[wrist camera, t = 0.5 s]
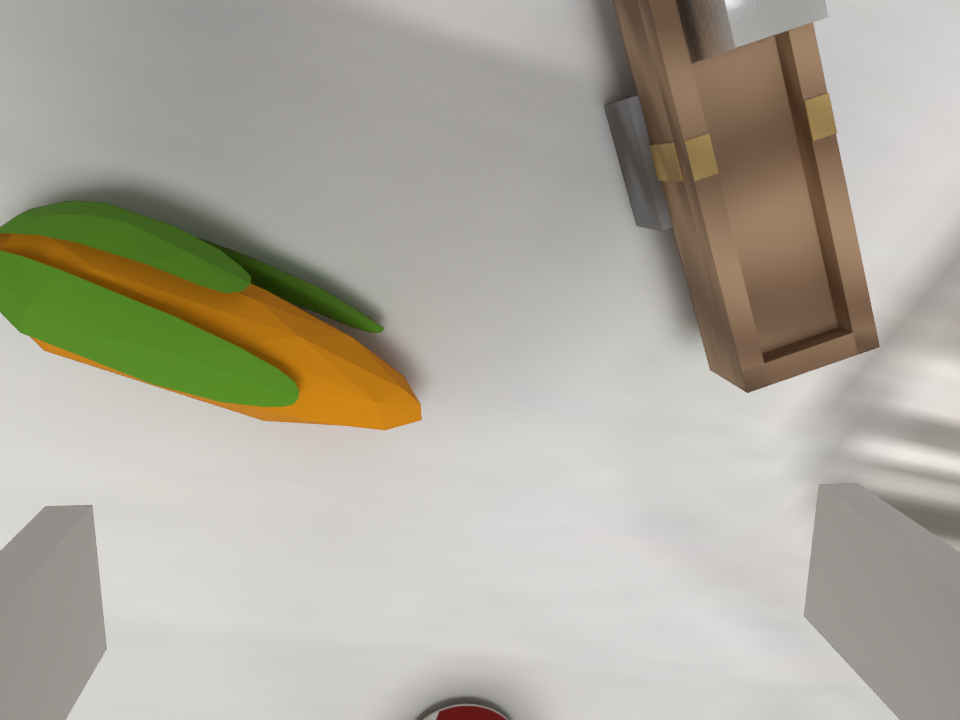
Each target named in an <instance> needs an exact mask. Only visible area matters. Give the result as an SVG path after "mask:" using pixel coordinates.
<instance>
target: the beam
mask: <svg viewBox="0 0 960 720" xmlns="http://www.w3.org/2000/svg"><path fill="white" fill-rule="evenodd" d="M613 1H614V5H615V9H616V13H617V16H618V20H619V24H620V28H621V32H622V36H623V39H624V43H625V47H626V51H627V55H628V58H629V62H630V66H631V70H632V74H633V78H634V81H635V85H636V89H637V93H638V95H635V96H632V97H629V98H626V99H623V100H620V101H617V102H614V103H611V104H608V105H605V106H604V108H605V111H606V115H607V119H608V122H609V126H610V130H611V133H612V137H613V141H614V144H615V148H616V152H617V155H618V159H619V163H620V166H621V170H622V173H623V177H624V181H625V184H626V188H627V192H628V195H629V199H630V203H631V206H632V210H633V214H634V217H635V221H636V225H637V226H640V227H645V228H650V229H654V230H659V231H664V230H667V229H670V228H673V230H674V234H675V238H676V242H677V246H678V249H679V253H680V257H681V261H682V265H683V268H684V272H685V276H686V280H687V284H688V288H689V291H690V295H691V299H692V303H693V307H694V310H695V314H696V318H697V322H698V326H699V330H700V333H701V337H702V341H703V345H704V349H705V352H706V356H707V360H708V364H709V368H710V370H711V371H713V372H714V373H716V374H718V375H719V376H721V377H722V378H724V379H726V380H727V381H729V382H731V383H732V384H734V385H735V386H737V387H739V388H740V389H742V390H744V391H745V392H747V393H748V392H751V391H754V390H757V389H760V388H763V387H766V386H769V385H771V384H774V383H777V382H780V381H783V380H786V379H789V378H792V377H795V376H797V375H800V374H803V373H806V372H809V371H812V370H815V369H818V368H820V367H823V366H826V365H829V364H832V363H835V362H838V361H841V360H843V359H846V358H849V357H852V356H855V355H858V354H861V353H864V352H867V351H869V350H872V349H875V348H878V347H880V346H879V341H878V336H877V332H876V327H875V322H874V317H873V312H872V307H871V303H870V298H869V293H868V288H867V283H866V278H865V273H864V269H863V264H862V259H861V254H860V249H859V244H858V239H857V235H856V230H855V225H854V220H853V215H852V210H851V206H850V201H849V196H848V191H847V186H846V181H845V176H844V172H843V167H842V162H841V157H840V152H839V147H838V143H837V138H836V133H837V131H836V126H835V121H834V117H833V112H832V107H831V102H830V97H829V93H827V89H826V84H825V79H824V75H823V70H822V65H821V60H820V55H819V50H818V46H817V41H816V36H815V31H814V26H813V22H812V23H810V24H807V25H804V26H801V27H798V28H796V29H793V30H790V31H787V32H784V33H782V34H779V35H776V36H773V37H770V38H767V39H764V40H761V41H758V42H755V43H752V44H749V45H746V46H743V47H740V48H737V49H734V50H731V51H728V52H725V53H722V54H719V55H716V56H713V57H710V58H707V59H704V60H701V61H698V62H695V63H693V64H691V61H690V57H689V53H688V49H687V45H686V41H685V37H684V33H683V29H682V25H681V20H680V16H679V12H678V8H677V4H676V0H613Z"/></svg>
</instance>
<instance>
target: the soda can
mask: <svg viewBox="0 0 960 720" xmlns="http://www.w3.org/2000/svg"><path fill="white" fill-rule="evenodd" d="M423 720H508V719H507V718H506V717H505V716H504V715H502V714H501V713H499V712H498V711H496V710H494V709H491V708H489V707H486V706H482V705H477V704H456V705H451V706H447V707H444V708H441V709H439V710H437V711H435V712H433V713H431V714H429V715H428V716H426V717H425V718H424V719H423Z"/></svg>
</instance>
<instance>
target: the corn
mask: <svg viewBox="0 0 960 720" xmlns="http://www.w3.org/2000/svg"><path fill="white" fill-rule="evenodd" d="M289 302H290V303H293V304H295V305H298V306H301V307H304V308H307V309H309V310H312V311H315V312H317V313H320V314H322V315H325V316H327V317H330V318H332V319H335V320H337V321H340V322H342V323H345V324H347V325H349V326H352V327H355V328H358V329H361V330H364V331H367V332H370V333H381V332H382V331H383V330H384V328H383V327H382V326H380V325H379V324H377V323H376V322H374V321H373V320H371V319H370V318H368V317H367V316H365V315H364V314H362V313H361V312H359V311H358V310H356V309H354V308H353V307H351V306H349V305H348V304H346V303H344V302H343V301H341V300H339V299H338V298H336V297H335V296H333V295H331V294H330V293H328V292H326V291H325V290H323V289H321V288H319V287H316V286H314V285H312V284H310V283H307V282H305V281H303V280H301V279H298V278H296V277H294V276H292V275H289V274H287V273H285V272H283V271H280V270H278V269H276V268H274V267H271V266H269V265H267V264H265V263H262V262H260V261H258V260H256V259H253V258H251V257H249V256H246V255H243V254H240V253H238V252H235V251H232V250H229V249H227V248H224V247H221V246H219V245H216V244H213V243H210V242H208V241H205V240H202V239H199V238H197V237H194V236H192V235H191V234H189V233H187V232H185V231H183V230H181V229H179V228H177V227H175V226H173V225H170V224H167V223H164V222H161V221H158V220H155V219H152V218H149V217H146V216H144V215H141V214H138V213H135V212H132V211H129V210H126V209H123V208H120V207H117V206H114V205H111V204H108V203H104V202H82V201H66V202H61V203H57V204H52V205H47V206H43V207H38V208H33V209H30V210H27V211H25V212H23V213H21V214H19V215H17V216H16V217H14V218H13V219H12V220H10V221H9V222H7V223H6V224H4V225H3V226H1V227H0V312H1V313H2V314H3V315H4V316H5V317H6V318H7V320H8V321H9V322H10V323H11V324H12V325H13V326H14V327H15V328H16V329H17V330H18V331H19V332H20V333H23V334H26V335H28V336H30V337H31V338H32V339H33V340H34V341H35V342H36V343H37V344H38V345H39V346H40V347H41V348H42V349H43V350H44V351H47V352H50V353H53V354H57V355H60V356H63V357H66V358H69V359H72V360H75V361H79V362H82V363H85V364H88V365H91V366H94V367H97V368H100V369H104V370H107V371H110V372H113V373H116V374H119V375H122V376H126V377H129V378H132V379H135V380H138V381H141V382H144V383H147V384H151V385H154V386H157V387H160V388H163V389H166V390H169V391H173V392H176V393H179V394H182V395H185V396H188V397H191V398H195V399H198V400H201V401H204V402H207V403H210V404H213V405H216V406H220V407H223V408H226V409H229V410H232V411H235V412H238V413H242V414H245V415H248V416H251V417H254V418H257V419H260V420H263V421H278V422H294V423H310V424H326V425H342V426H353V427H362V428H371V429H380V430H387V429H391V428H394V427H398V426H402V425H405V424H409V423H412V422H416V421H420V420H422V419H421V406H420V403H419V401H418V399H417V398H416V396H415V394H414V393H413V391H412V389H411V388H410V386H409V384H408V383H407V381H406V379H405V378H404V376H403V375H402V374H400V373H399V372H398V371H396V370H395V369H394V368H392V367H391V366H390V365H388V364H387V363H386V362H384V361H383V360H382V359H381V358H379V357H378V356H377V355H375V354H374V353H373V352H371V351H370V350H369V349H367V348H366V347H365V346H363V345H362V344H361V343H359V342H358V341H357V340H356V339H354V338H353V337H351V336H349V335H347V334H346V333H344V332H342V331H340V330H338V329H336V328H335V327H333V326H331V325H329V324H327V323H325V322H324V321H322V320H320V319H318V318H316V317H314V316H313V315H311V314H309V313H307V312H305V311H303V310H302V309H300V308H298V307H296V306H294V305H292V304H290V303H289Z"/></svg>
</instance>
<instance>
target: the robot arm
mask: <svg viewBox="0 0 960 720" xmlns="http://www.w3.org/2000/svg"><path fill="white" fill-rule="evenodd" d="M804 617H805V618H806V619H807V620H808V621H809V622H810V623H811V624H812V625H813V626H814V628H815V629H816V630H817V631H818V632H819V633H820V634H821V635H822V636H823V637H824V638H825V639H826V641H827V642H828V643H829V644H830V645H831V646H832V647H833V648H834V649H835V650H836V651H837V652H838V653H839V655H840V656H841V657H842V658H843V659H844V660H845V661H846V662H847V663H848V664H849V665H850V666H851V668H852V669H853V670H854V671H855V672H856V673H857V674H858V675H859V676H860V677H861V678H862V679H863V681H864V682H865V683H866V684H867V685H868V686H869V687H870V688H871V689H872V690H873V691H874V692H875V693H876V695H877V696H878V697H879V698H880V699H881V700H882V701H883V702H884V703H885V704H886V705H887V706H888V708H889V709H890V710H891V711H892V712H893V713H894V714H895V715H896V716H897V717H898V718H899V719H900V720H960V552H959V551H957V550H956V549H954V548H953V547H951V546H950V545H948V544H947V543H945V542H944V541H942V540H941V539H939V538H938V537H936V536H935V535H934V534H932V533H931V532H929V531H928V530H926V529H925V528H923V527H922V526H920V525H919V524H917V523H916V522H914V521H913V520H911V519H910V518H908V517H907V516H905V515H904V514H902V513H901V512H899V511H898V510H896V509H895V508H893V507H892V506H891V505H889V504H888V503H886V502H885V501H883V500H882V499H880V498H879V497H877V496H876V495H874V494H873V493H871V492H870V491H868V490H867V489H865V488H864V487H862V486H861V485H859V484H858V483H840V484H819V488H818V496H817V505H816V514H815V522H814V531H813V540H812V549H811V557H810V566H809V575H808V584H807V592H806V601H805V610H804ZM106 649H107V648H106V637H105V627H104V617H103V607H102V597H101V587H100V577H99V567H98V557H97V547H96V536H95V526H94V516H93V506H92V505H75V506H45V507H44V508H43V509H42V510H41V511H40V512H39V513H38V514H37V515H36V516H35V517H34V518H33V519H32V520H31V521H30V522H29V523H28V524H27V525H26V526H25V527H24V528H23V529H22V530H21V531H20V532H19V533H18V534H17V535H16V536H15V537H14V538H13V539H12V540H11V541H10V542H9V543H8V544H7V545H6V546H5V547H4V548H3V549H2V550H1V551H0V720H65V719H66V718H67V716H68V714H69V713H70V711H71V709H72V707H73V706H74V704H75V702H76V701H77V699H78V697H79V695H80V694H81V692H82V690H83V688H84V687H85V685H86V683H87V682H88V680H89V678H90V676H91V675H92V673H93V671H94V670H95V668H96V666H97V664H98V663H99V661H100V659H101V658H102V656H103V654H104V652H105V651H106Z"/></svg>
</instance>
